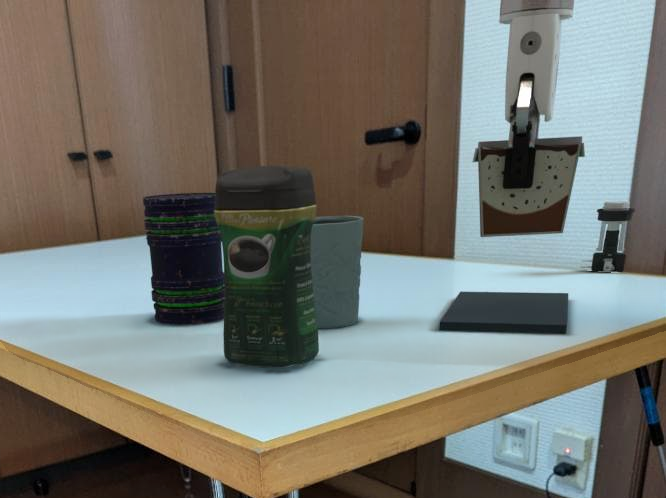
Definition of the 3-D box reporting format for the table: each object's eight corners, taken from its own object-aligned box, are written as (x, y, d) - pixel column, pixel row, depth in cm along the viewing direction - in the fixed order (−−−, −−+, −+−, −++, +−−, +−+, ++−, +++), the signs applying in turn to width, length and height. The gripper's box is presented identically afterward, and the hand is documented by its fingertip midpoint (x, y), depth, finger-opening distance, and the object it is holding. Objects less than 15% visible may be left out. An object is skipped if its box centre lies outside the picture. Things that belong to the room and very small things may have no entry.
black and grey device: (579, 273, 125) (588, 204, 120) (579, 268, 129) (588, 201, 125) (626, 273, 123) (637, 203, 118) (624, 268, 127) (635, 200, 123)
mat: (567, 300, 106) (568, 293, 105) (566, 334, 89) (567, 324, 89) (459, 298, 110) (460, 291, 110) (438, 330, 93) (439, 321, 93)
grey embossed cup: (356, 330, 95) (357, 222, 90) (273, 329, 97) (270, 224, 92) (367, 313, 104) (368, 214, 98) (290, 313, 106) (288, 216, 101)
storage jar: (215, 326, 101) (206, 197, 94) (142, 325, 103) (129, 199, 96) (236, 310, 109) (230, 191, 103) (169, 310, 112) (158, 194, 105)
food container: (559, 228, 98) (568, 136, 94) (575, 232, 93) (587, 136, 88) (457, 232, 98) (463, 142, 94) (468, 237, 93) (474, 141, 89)
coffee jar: (329, 355, 85) (328, 162, 76) (295, 374, 79) (290, 166, 70) (250, 348, 89) (241, 165, 81) (212, 365, 83) (198, 169, 75)
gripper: (574, -12, 77) (551, 190, 85) (574, 10, 91) (554, 181, 99) (493, -4, 79) (478, 192, 87) (506, 16, 94) (492, 182, 102)
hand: (519, 184), depth 93 cm, fingers closed on food container, 7 cm apart
